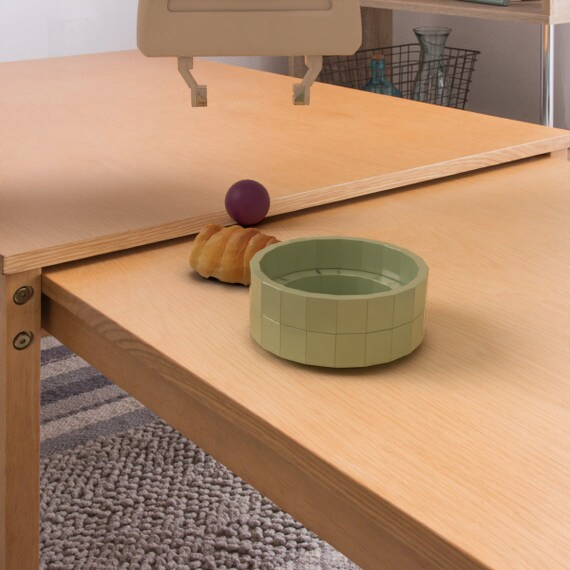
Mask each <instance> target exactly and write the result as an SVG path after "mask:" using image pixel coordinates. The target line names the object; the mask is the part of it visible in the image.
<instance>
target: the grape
mask: <svg viewBox="0 0 570 570" xmlns="http://www.w3.org/2000/svg"><path fill="white" fill-rule="evenodd" d="M224 207H225V211H226V213H227V215H228V216H229V217H230V219H231V220H233V221H234V222H235V223H237V224H238V225H243V226H252V225H256V224H258V223H260V222H262V221H263V220H264V219H265V218H266V216H267V215H268V213H269V211H270V209H271V197H270V194H269V192H268V189H267V188H266V187H265V186H264V185H263V184H262V183H260V182H259V181H257V180H254V179H249V178H247V179H241V180H238V181H235V183H233V184H232V185H231V186H229V188H228V190H227V191H226V193H225V197H224Z"/></svg>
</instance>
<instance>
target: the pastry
mask: <svg viewBox="0 0 570 570" xmlns="http://www.w3.org/2000/svg"><path fill="white" fill-rule="evenodd" d="M282 241H283V240H280V239H277V238H276V236H274V235H269V234H266V233H262V232H261V230H259V229H258V228H256V227H248V228H245V227H243V226H241V225H240V224H233V225H231V226H228V227H225V226H222V225H221V224H219V223H214V222H210V223H208V224H205V225H204V226H203V227H201V229H200V231H199V232H198V234H197V235H196V237H195V239H194V241H193V244H192V246H191V250H190V255H189V261H188V265H189V266H190V268H192V269H193V270H194V271H196V273H198V274H199V275H200V277H204V278H206V279H209V277H213V278H216V279H218V281H220V282H225V283H230V284H235V283H238V284H242V285H244V286H249V263H250V260H251V259H252V258H253V256H254V255H255V254H256V252H258V251H260V250H262V249H264V248H265V247H267V246H269V245H271V244H275V243H278V242H282Z"/></svg>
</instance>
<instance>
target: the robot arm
mask: <svg viewBox="0 0 570 570" xmlns="http://www.w3.org/2000/svg"><path fill="white" fill-rule="evenodd" d="M362 29H363V26H362V14H361V5H360V0H138V2H137V13H136V48H137V49H138V50H139V52H140V53H141V54H142V55H143V56H144V57H145V58H177V72H179V74H180V76H181V78H182V79H183V80H184V82H185V84H186V85H187V87H188V89H190V102H191V108H207V107H208V87H207V84H198V82H197V81H196V79H195V77H194V76H193V74H192V73H191V71H190V70H193V69H194V58H217V57H218V58H221V57H299V56H304V64H305V66H306V67H307V68H308V69H307V71H306V73H305V75H304V77H303V78H302V80H301V82H300V83H292V85H291V86H292V87H291V89H292V105H293V106H310V104H311V87H312V86H313V85H314V83H315V81H316V80H317V78H318V76H319V75H320V72H321V71H322V69H323V56H353V55H355V54H356V52H358V50H359V49H360V47H361V46H362V44H363V30H362Z"/></svg>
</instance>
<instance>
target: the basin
mask: <svg viewBox="0 0 570 570" xmlns="http://www.w3.org/2000/svg"><path fill="white" fill-rule="evenodd" d="M281 241H282V242H278V243H275V244H271V245H269V246H267V247H265V248H264V249H262V250H260V251H258V252H256V254H255V255H254V256H253V258H252V259H251V260H250V263H249V284H248V286H249V288H248V289H249V291H248V292H249V296H248V297H249V303H248V305H249V306H248V307H249V309H248V310H249V311H248V312H249V313H248V314H249V320H248V321H249V331H250V336H251V337H252V339H253V340H254V341H255V342H256V343H257V344H258V345H259V347H261V348H262V349H264V350H265V351H268V352H270V354H271V353H272V354H274V355H275V356H277V357H280V358H281V359H284V360H288V361H292V362H296V363H300V364H302V365H309V366H314V367H322V368H332V369H349V368H350V369H351V368H352V369H353V368H364V367H370V366H371V367H372V366H376V365H382V364H386V363H390V362H394V361H396V360H398V359H400V358H403V357H405V356H407V355H409V354H411V353H413V351H414V350H416V349H417V348H418V347H419V346H420V345H421V344H422V343H423V340H424V339H423V338H424V335H425V328H426V327H425V326H426V313H427V301H428V289H429V288H428V287H429V275H430V267H429V265H428V264H427V263H426V261H425V260H424V259H423V257H421V256H420V255H418V254H417V253H415V252H414V251H411V250H410V249H408V248H405V247H402V246H400V245H396V244H393V243H390V242H387V241H383V240H376V239H372V238H367V237H359V236H348V235H347V236H346V235H314V236H313V235H312V236H306V237H297V238H290V239H286V240H281Z"/></svg>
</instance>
